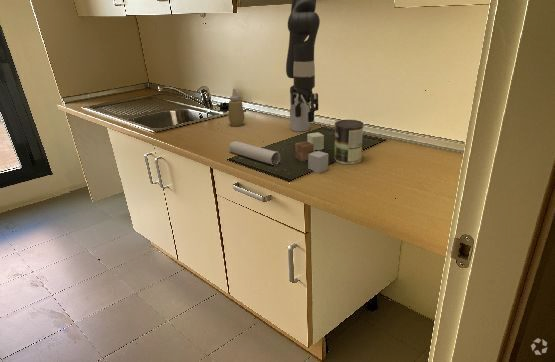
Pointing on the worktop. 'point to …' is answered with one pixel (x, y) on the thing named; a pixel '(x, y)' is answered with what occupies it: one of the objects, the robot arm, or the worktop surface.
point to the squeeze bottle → (236, 110)
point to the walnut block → (303, 150)
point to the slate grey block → (318, 161)
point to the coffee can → (348, 141)
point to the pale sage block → (316, 140)
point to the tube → (255, 152)
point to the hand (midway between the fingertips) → (304, 119)
